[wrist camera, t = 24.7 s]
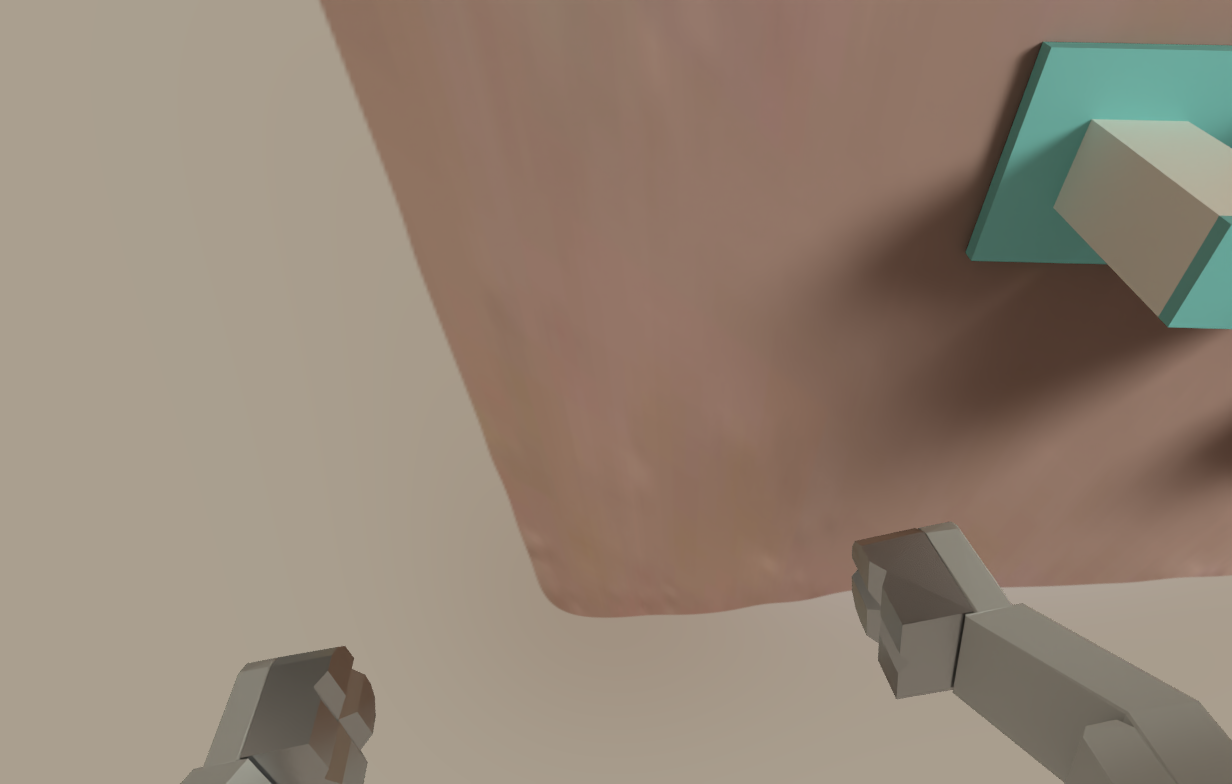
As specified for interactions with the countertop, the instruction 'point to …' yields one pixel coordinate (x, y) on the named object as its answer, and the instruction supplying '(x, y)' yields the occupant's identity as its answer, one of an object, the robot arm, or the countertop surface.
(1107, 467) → the countertop surface
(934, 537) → the robot arm
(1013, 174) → the pad
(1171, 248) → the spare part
